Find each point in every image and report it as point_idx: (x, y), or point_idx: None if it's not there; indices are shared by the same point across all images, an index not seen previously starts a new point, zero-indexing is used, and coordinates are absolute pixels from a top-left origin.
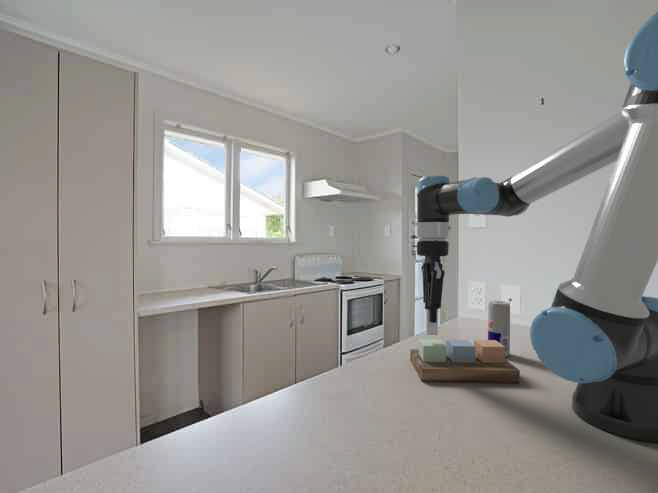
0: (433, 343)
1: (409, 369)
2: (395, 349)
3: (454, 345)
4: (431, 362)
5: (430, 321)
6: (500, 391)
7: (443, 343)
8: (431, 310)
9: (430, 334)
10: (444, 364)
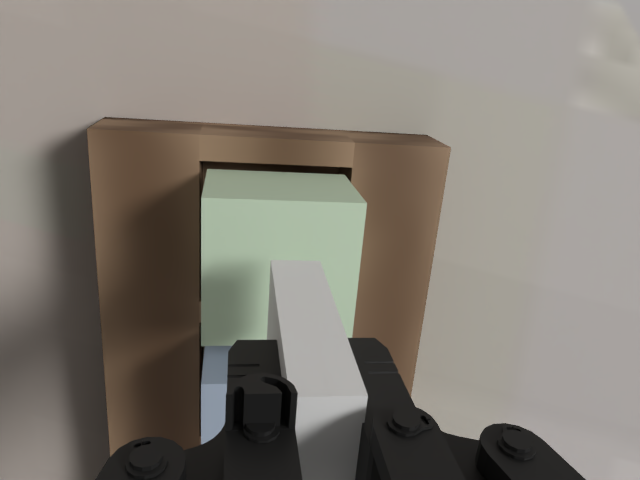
0: (258, 281)
1: (284, 93)
2: (616, 87)
3: (215, 397)
4: None
5: (235, 345)
6: (34, 431)
7: None
8: (222, 431)
9: (269, 291)
10: (171, 279)
